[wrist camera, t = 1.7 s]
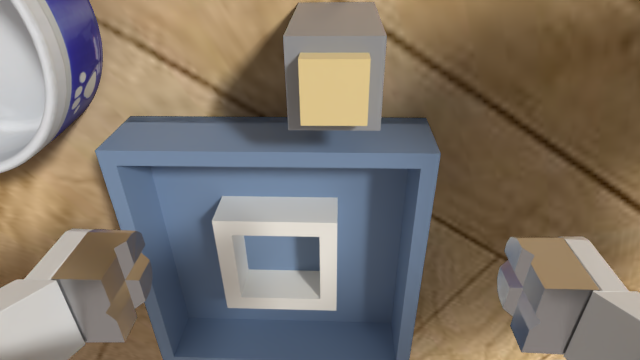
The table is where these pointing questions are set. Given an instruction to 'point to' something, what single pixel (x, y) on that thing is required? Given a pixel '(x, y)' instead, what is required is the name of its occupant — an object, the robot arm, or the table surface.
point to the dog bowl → (44, 72)
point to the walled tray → (276, 233)
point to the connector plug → (335, 66)
